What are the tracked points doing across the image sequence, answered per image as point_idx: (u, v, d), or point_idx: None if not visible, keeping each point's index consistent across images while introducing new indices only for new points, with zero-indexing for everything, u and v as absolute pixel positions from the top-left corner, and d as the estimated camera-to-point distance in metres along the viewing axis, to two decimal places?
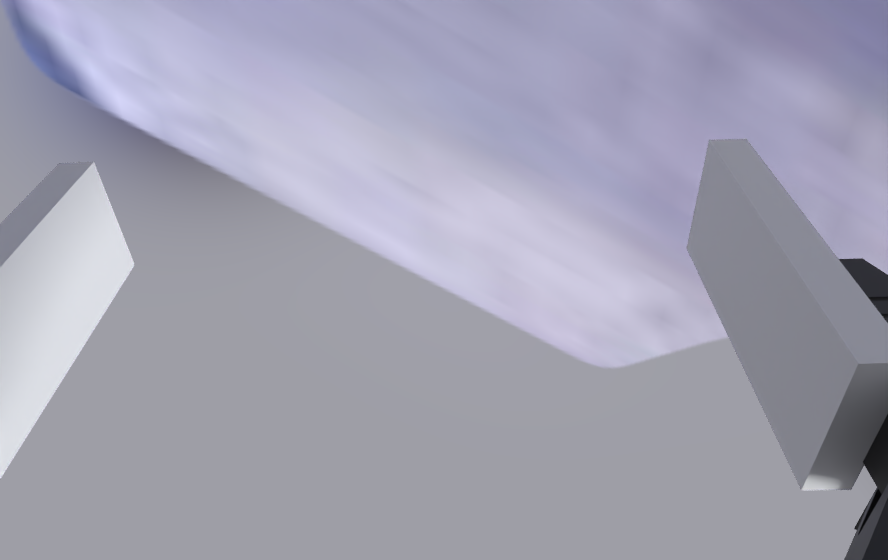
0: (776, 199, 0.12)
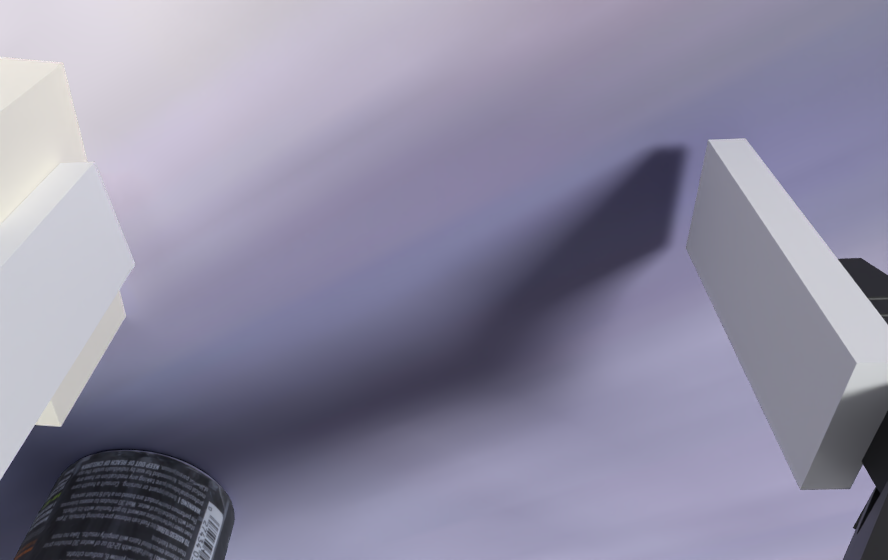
0: (775, 199, 0.12)
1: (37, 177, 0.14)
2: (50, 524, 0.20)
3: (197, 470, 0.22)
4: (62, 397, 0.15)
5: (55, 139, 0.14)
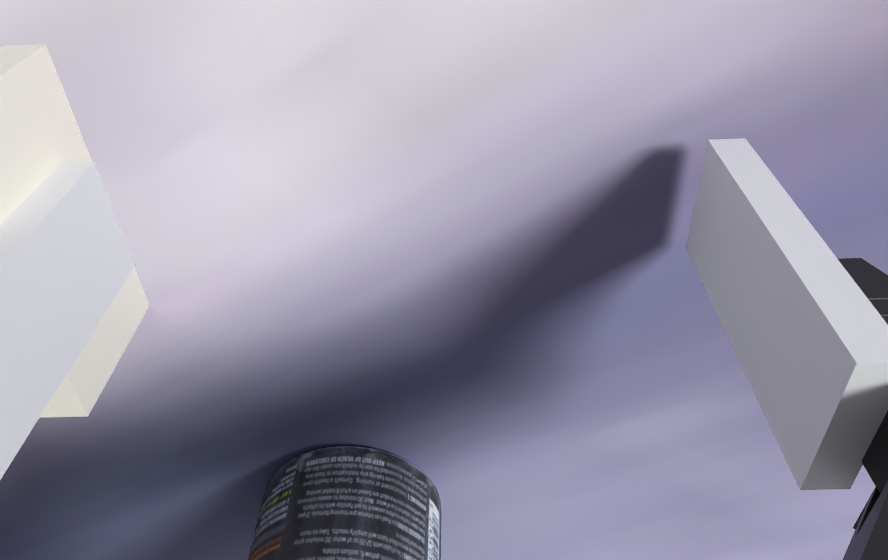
0: (775, 199, 0.12)
1: (29, 161, 0.13)
2: (292, 521, 0.20)
3: (415, 467, 0.22)
4: (86, 386, 0.15)
5: (45, 122, 0.14)
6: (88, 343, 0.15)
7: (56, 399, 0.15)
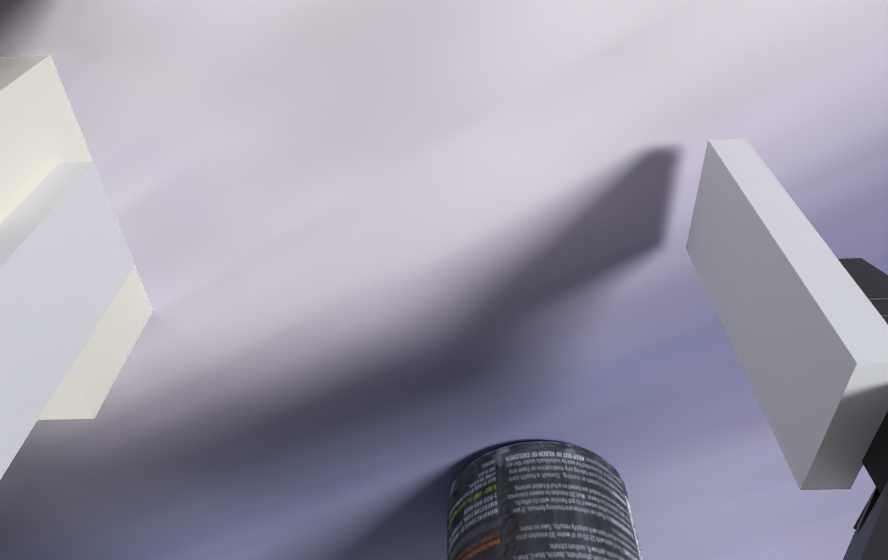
0: (775, 199, 0.12)
1: (36, 168, 0.14)
2: (507, 516, 0.19)
3: (608, 462, 0.22)
4: (92, 389, 0.15)
5: (52, 130, 0.14)
6: (94, 346, 0.16)
7: (63, 402, 0.15)
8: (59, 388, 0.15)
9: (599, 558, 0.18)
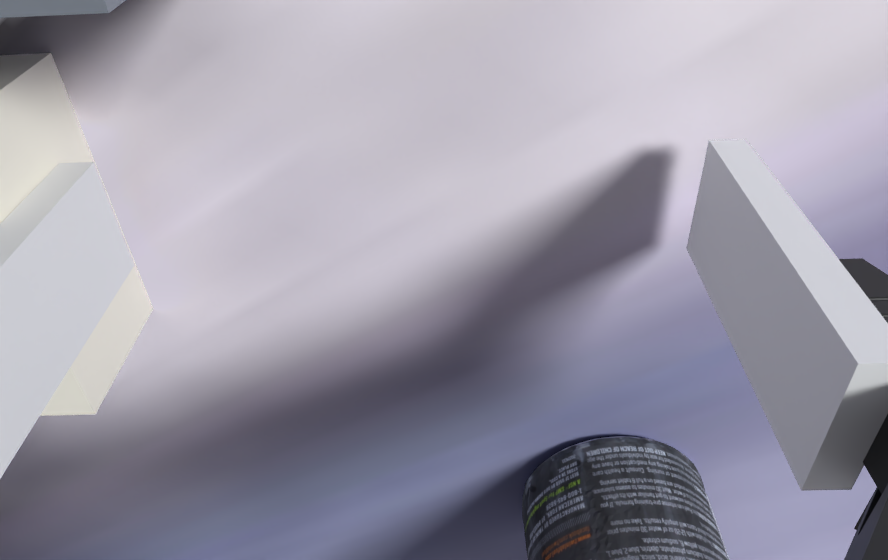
0: (776, 199, 0.12)
1: (38, 165, 0.14)
2: (595, 510, 0.19)
3: (686, 457, 0.22)
4: (93, 385, 0.16)
5: (54, 127, 0.14)
6: (95, 343, 0.16)
7: (65, 397, 0.15)
8: (61, 384, 0.15)
9: (692, 552, 0.18)
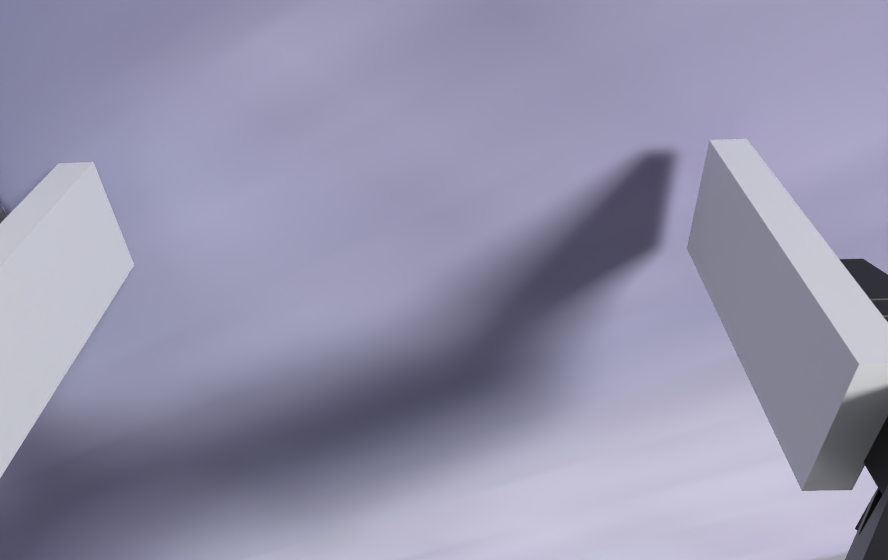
0: (777, 199, 0.12)
1: None
2: None
3: None
4: None
5: None
6: None
7: None
8: None
9: None
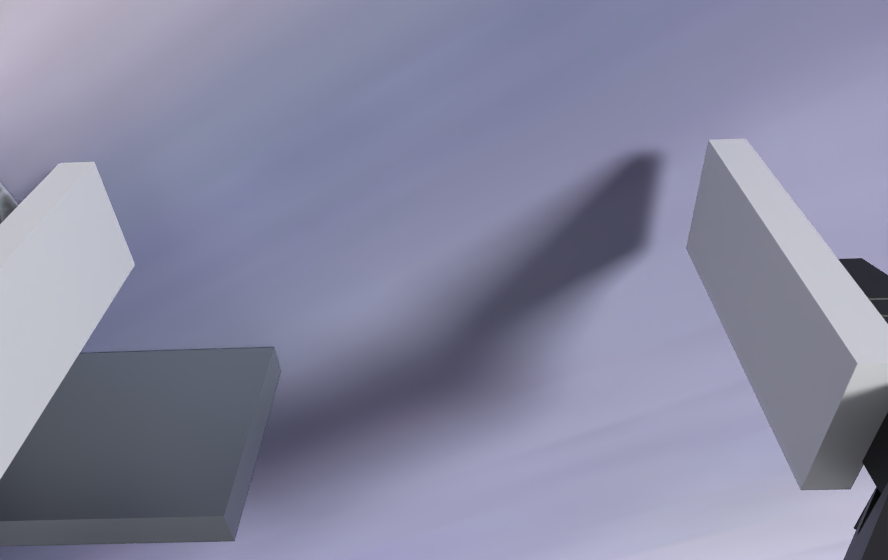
0: (776, 199, 0.12)
1: None
2: None
3: None
4: None
5: None
6: None
7: None
8: None
9: None
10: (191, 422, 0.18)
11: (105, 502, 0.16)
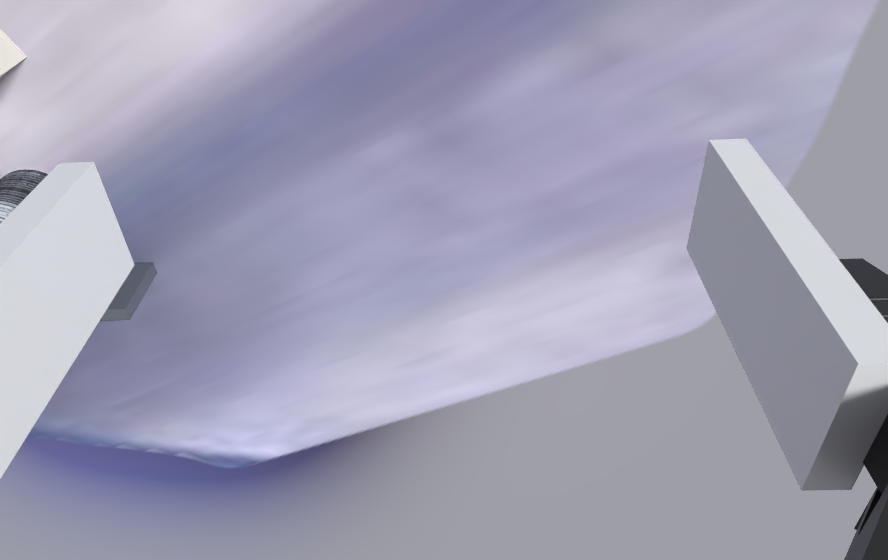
0: (776, 199, 0.12)
1: None
2: None
3: None
4: None
5: None
6: None
7: None
8: None
9: (13, 199, 0.44)
10: None
11: None
